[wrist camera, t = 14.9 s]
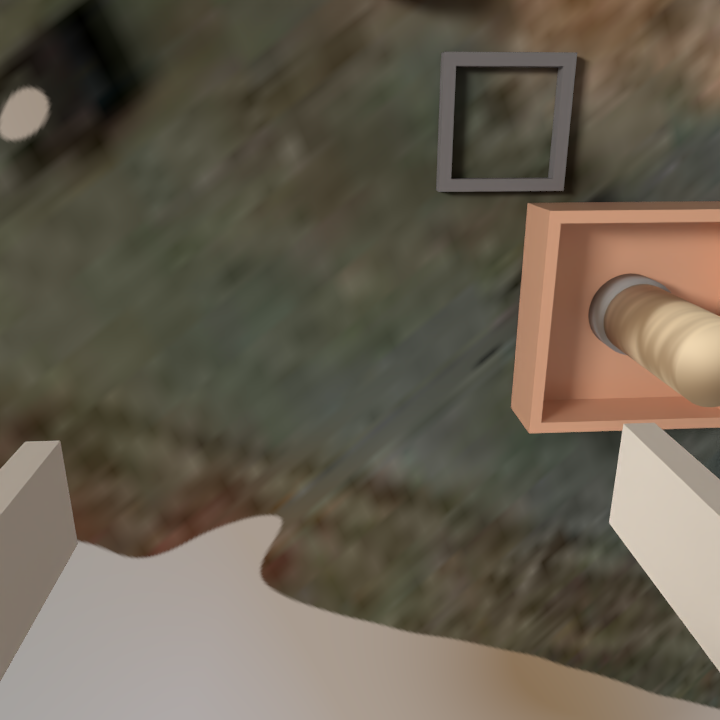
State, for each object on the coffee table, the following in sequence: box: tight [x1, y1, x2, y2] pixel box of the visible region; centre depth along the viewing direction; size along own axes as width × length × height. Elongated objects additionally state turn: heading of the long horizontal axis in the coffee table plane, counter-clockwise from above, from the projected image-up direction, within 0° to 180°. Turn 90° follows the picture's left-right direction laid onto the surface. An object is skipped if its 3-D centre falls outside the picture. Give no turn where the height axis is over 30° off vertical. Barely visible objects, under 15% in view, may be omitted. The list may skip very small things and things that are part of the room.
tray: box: [511, 201, 720, 433], centre depth 47 cm, size 16×16×5 cm
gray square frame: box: [436, 52, 577, 192], centre depth 44 cm, size 9×9×1 cm
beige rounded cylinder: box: [588, 273, 720, 407], centre depth 43 cm, size 6×6×12 cm
